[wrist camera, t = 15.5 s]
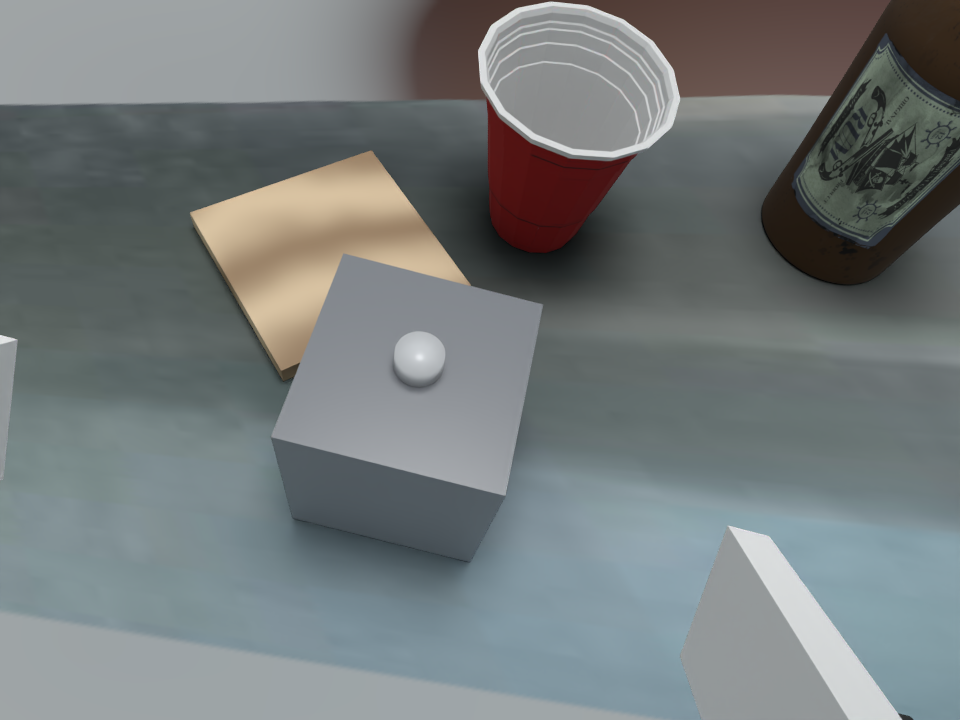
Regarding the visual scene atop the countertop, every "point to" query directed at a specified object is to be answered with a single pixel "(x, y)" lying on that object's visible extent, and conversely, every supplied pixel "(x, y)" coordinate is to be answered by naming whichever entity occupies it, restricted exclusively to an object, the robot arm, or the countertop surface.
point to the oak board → (313, 246)
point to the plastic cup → (566, 115)
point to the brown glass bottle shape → (877, 151)
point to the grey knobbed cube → (406, 408)
